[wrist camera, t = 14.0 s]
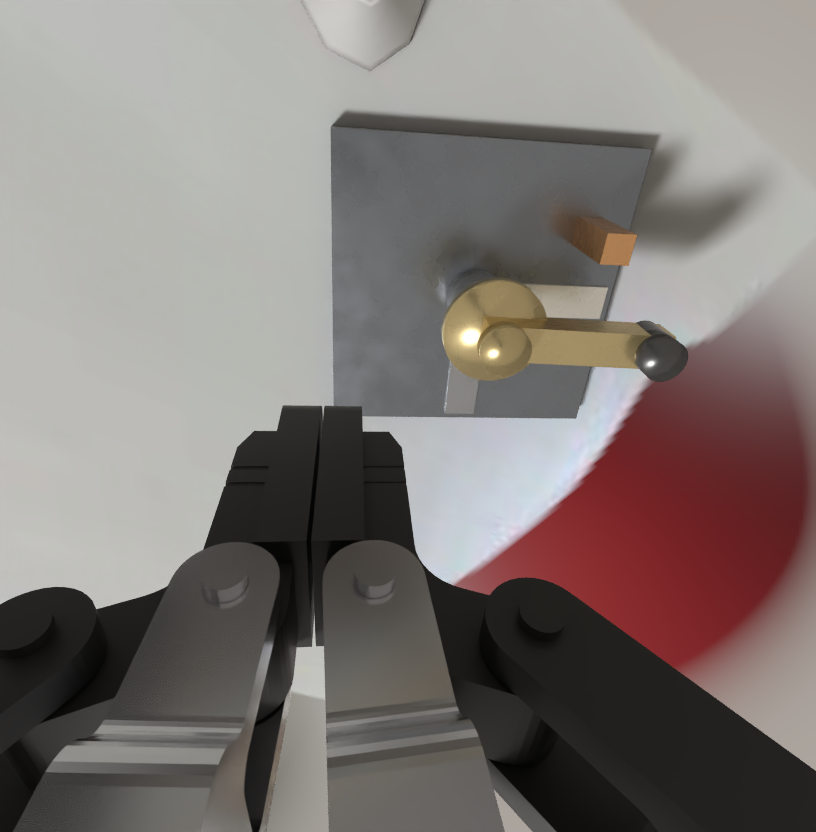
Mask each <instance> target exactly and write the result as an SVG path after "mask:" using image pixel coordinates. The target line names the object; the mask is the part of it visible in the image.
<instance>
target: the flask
mask: <svg viewBox="0 0 816 832" xmlns="http://www.w3.org/2000/svg"><path fill="white" fill-rule="evenodd" d="M424 1H425V0H301V2H302V3H303V5H304V7H305V9H306V11H307V13H308V15H309V17H310V19H311V20H312V22H313V24H314V26H315V28H316V30H317V32H318V34H319V35H320V37H321V39H322V41H323V43H324V45H325V47H326V49H328V50H330V51H332V52H334V53H336V54H337V55H339V56H341V57H343V58H345V59H347V60H349V61H351V62H353V63H355V64H357V65H359V66H361V67H363V68H364V69H366V70H368V71H371V70H373V69H374V68H375V67H377V66H378V65H380V64H381V63H383V62H384V61H386V60H387V59H388V58H390V57H391V56H393V55H394V54H396V53H397V52H398V51H400V50H401V49H403V48H404V47H406V46H407V45H409V43H410V40H411V37H412V34H413V32H414V29H415V26H416V23H417V20H418V17H419V15H420V12H421V9H422V6H423V3H424Z"/></svg>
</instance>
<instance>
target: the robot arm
mask: <svg viewBox="0 0 816 832" xmlns="http://www.w3.org/2000/svg"><path fill="white" fill-rule="evenodd" d="M314 612H315V634H316V646H324V661H325V698H326V739H327V780H328V814H329V832H505V831H504V827H503V823H502V820H501V816H500V812H499V808H498V804H497V800H496V797H495V793H494V790H495V791H496V792H497V793H498V794H499V795H500V796H501V797H502V798H503V799H504V801H505V802H506V803H507V804H508V805H509V806H510V807H511V808H512V809H513V810H514V812H515V813H516V814H517V815H518V816H519V817H520V818H521V819H522V820H523V821H524V823H525V824H526V825H527V826H528V827H529V828H530V829H531V830H532V831H533V832H816V771H815V770H814V769H812V768H811V767H810V766H808V765H807V764H805V763H804V762H803V761H801V760H800V759H799V758H797V757H796V756H794V755H793V754H791V753H790V752H789V751H787V750H786V749H785V748H783V747H782V746H780V745H779V744H778V743H776V742H775V741H774V740H772V739H771V738H770V737H768V736H767V735H765V734H764V733H762V732H761V731H760V730H759V729H757V728H756V727H754V726H753V725H752V724H750V723H749V722H747V721H746V720H745V719H743V718H742V717H741V716H739V715H738V714H736V713H735V712H734V711H732V710H731V709H730V708H728V707H727V706H725V705H724V704H723V703H721V702H720V701H719V700H717V699H716V698H714V697H713V696H712V695H710V694H709V693H708V692H706V691H705V690H703V689H702V688H701V687H699V686H698V685H697V684H695V683H694V682H692V681H691V680H690V679H688V678H687V677H685V676H684V675H683V674H681V673H680V672H678V671H677V670H676V669H674V668H673V667H672V666H670V665H669V664H668V663H666V662H665V661H663V660H662V659H661V658H659V657H658V656H656V655H655V654H654V653H652V652H651V651H650V650H648V649H647V648H646V647H644V646H643V645H641V644H640V643H639V642H637V641H636V640H634V639H633V638H632V637H630V636H629V635H628V634H626V633H625V632H623V631H622V630H621V629H619V628H618V627H617V626H615V625H614V624H612V623H611V622H610V621H608V620H607V619H605V618H604V617H603V616H601V615H600V614H599V613H597V612H596V611H594V610H593V609H592V608H590V607H589V606H587V605H586V604H585V603H583V602H582V601H580V600H579V599H578V598H577V597H575V596H574V595H572V594H571V593H570V592H568V591H567V590H565V589H563V588H562V587H560V586H558V585H555V584H554V583H551V582H548V581H545V580H541V579H536V578H517V579H512V580H509V581H507V582H504V583H502V584H501V585H499V586H498V587H497V588H496V589H495V590H494V591H493V592H492V593H491V595H486V594H482V593H478V592H474V591H470V590H467V589H463V588H459V587H456V586H453V585H451V584H448V583H446V582H444V581H442V580H441V579H439V578H437V577H436V576H435V575H433V574H432V573H431V572H430V571H429V570H428V569H427V568H426V567H425V566H424V565H423V564H422V562H421V561H420V559H419V557H418V555H417V553H416V550H415V545H414V538H413V530H412V523H411V515H410V507H409V500H408V492H407V486H406V477H405V470H404V461H403V454H402V447H401V446H400V445H399V444H398V442H397V441H396V440H395V439H394V438H393V436H392V435H391V434H390V433H389V432H363V429H362V406H325V407H324V417H323V414H322V406H286V405H284V406H283V408H282V412H281V416H280V420H279V424H278V429H277V431H254V432H253V433H252V434H251V435H250V436H249V437H248V438H247V439H245V440H244V441H243V442H242V443H241V444H240V445H239V446H238V447H237V450H236V453H235V456H234V459H233V462H232V465H231V470H230V471H229V474H228V477H227V480H226V486H224V489H223V492H222V495H221V498H220V501H219V504H218V507H217V510H216V513H215V516H214V519H213V522H212V525H211V528H210V531H209V534H208V537H207V540H206V543H205V546H204V549H203V550H202V551H200V552H198V553H196V554H195V555H193V556H192V557H190V558H189V559H187V560H186V561H185V562H184V563H183V564H182V565H181V566H180V567H179V568H178V570H177V571H176V572H175V574H174V575H173V577H172V579H171V581H170V583H169V585H168V586H167V587H165V588H163V589H161V590H159V591H157V592H154V593H152V594H149V595H146V596H143V597H139V598H136V599H132V600H129V601H125V602H121V603H118V604H114V605H111V606H107V607H103V608H100V609H96V608H95V606H94V604H93V601H92V600H91V599H90V598H89V597H88V596H87V595H86V594H84V593H83V592H81V591H78V590H76V589H72V588H66V587H51V588H43V589H38V590H34V591H31V592H27V593H24V594H21V595H19V596H17V597H14V598H12V599H10V600H8V601H6V602H4V603H2V604H0V832H266V831H267V825H268V820H269V815H270V809H271V804H272V798H273V793H274V787H275V782H276V776H277V771H278V765H279V760H280V754H281V749H282V743H283V738H284V733H285V727H286V721H287V716H288V710H289V705H290V699H291V685H292V681H293V675H294V666H295V657H296V647H312V637H313V624H314ZM493 788H494V789H493Z"/></svg>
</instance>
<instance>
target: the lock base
mask: <svg viewBox="0 0 816 832" xmlns="http://www.w3.org/2000/svg"><path fill="white" fill-rule="evenodd" d="M651 152H652V150H650V149H645V148H634V147H620V146H606V145H592V144H578V143H564V142H549V141H535V140H521V139H507V138H493V137H479V136H465V135H451V134H437V133H423V132H409V131H395V130H381V129H367V128H353V127H339V126H331V193H332V283H333V373H334V406H362V416H396V417H490V418H576V417H577V413H578V409H579V406H580V402H581V399H582V395H583V392H584V388H585V385H586V381H587V378H588V374H589V371H590V367H591V366H574V365H554V364H535V363H530V364H529V365H528V366H527V367H526V368H524V369H523V370H521V371H520V372H518V373H516V374H514V375H512V376H510V377H507V378H504V379H500V380H491V381H486V380H478V379H474V378H471V377H469V376H467V375H465V374H463V373H462V372H460V371H459V370H458V369H457V368H456V367H455V366H454V365H453V364H452V363H451V361H450V360H449V358H448V356H447V354H446V351H445V348H444V345H443V341H442V334H441V329H442V322H443V318H444V315H445V312H446V310H447V308H448V306H449V305H450V303H451V302H452V300H453V299H454V298H455V297H456V296H457V295H458V294H459V293H460V292H461V291H462V290H464V289H465V288H466V287H468V286H470V285H471V284H473V283H475V282H478V281H480V280H484V279H488V278H509V279H512V280H516V281H518V282H520V283H522V284H524V285H525V286H527V287H528V288H529V289H530V290H531V291H532V292H533V293H534V294H535V295H536V296H537V298H538V299H539V300H540V301H541V303H542V305H543V307H544V309H545V312H546V316H547V317H550V318H566V319H582V320H598V321H604V318H605V314H606V311H607V307H608V304H609V300H610V296H611V293H612V289H613V286H614V282H615V279H616V275H617V272H618V268H619V265H622V266H628V265H629V262H630V258H631V255H632V251H633V248H634V245H635V241H636V238H637V234H635V233H633V232H631V231H629V229H630V226H631V222H632V219H633V215H634V212H635V208H636V205H637V201H638V198H639V194H640V191H641V187H642V183H643V180H644V176H645V173H646V169H647V166H648V162H649V159H650V155H651Z"/></svg>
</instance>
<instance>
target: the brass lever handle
mask: <svg viewBox="0 0 816 832" xmlns="http://www.w3.org/2000/svg"><path fill="white" fill-rule="evenodd" d="M441 334H442V341H443V345H444V348H445V351H446V354H447V356H448V358H449V360H450V361H451V363H452V364H453V365H454V366H455V367H456V368H457V369H458V370H459V371H460V372H462V373H463V374H465V375H467V376H469V377H471V378H474V379H478V380H486V381H491V380H500V379H504V378H507V377H510V376H512V375H514V374H516V373H518V372H520V371H521V370H523V369H524V368H526V367H527V366H528V365H529V364H530V363H535V364H554V365H574V366H594V367H614V368H634V369H640V370H641V371H642V372H643V373H644V374H645V375H646V376H647V377H648V378H649V379H651V380H653V381H656V382H663V381H667V380H670V379H672V378H674V377H675V376H677V375H678V374H679V373H680V372H681V371H682V370H683V369H684V367H685V365H686V363H687V360H688V352H687V349H686V348H685V347H684V346H683V345H682V344H681V343H679V342H678V341H677V340H676V337H675V336H674V335H673V334H671V333H670V332H669V331H667V330H666V329H665V328H663V327H662V326H661V325H660V324H655V323H653V322H651V321H640V322H637V323H630V322H614V321H598V320H582V319H566V318H550V317H547V316H546V312H545V309H544V307H543V305H542V303H541V301H540V300H539V299H538V298H537V296H536V295H535V294H534V293H533V292H532V291H531V290H530V289H529V288H528V287H527V286H525V285H524V284H522V283H520V282H518V281H516V280H512V279H509V278H488V279H484V280H480V281H478V282H475V283H473V284H471V285H470V286H468V287H466V288H465V289H464V290H462V291H461V292H460V293H459V294H458V295H457V296H456V297H455V298H454V299H453V300H452V302H451V303H450V305H449V306H448V308H447V310H446V312H445V315H444V318H443V322H442V329H441Z"/></svg>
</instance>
